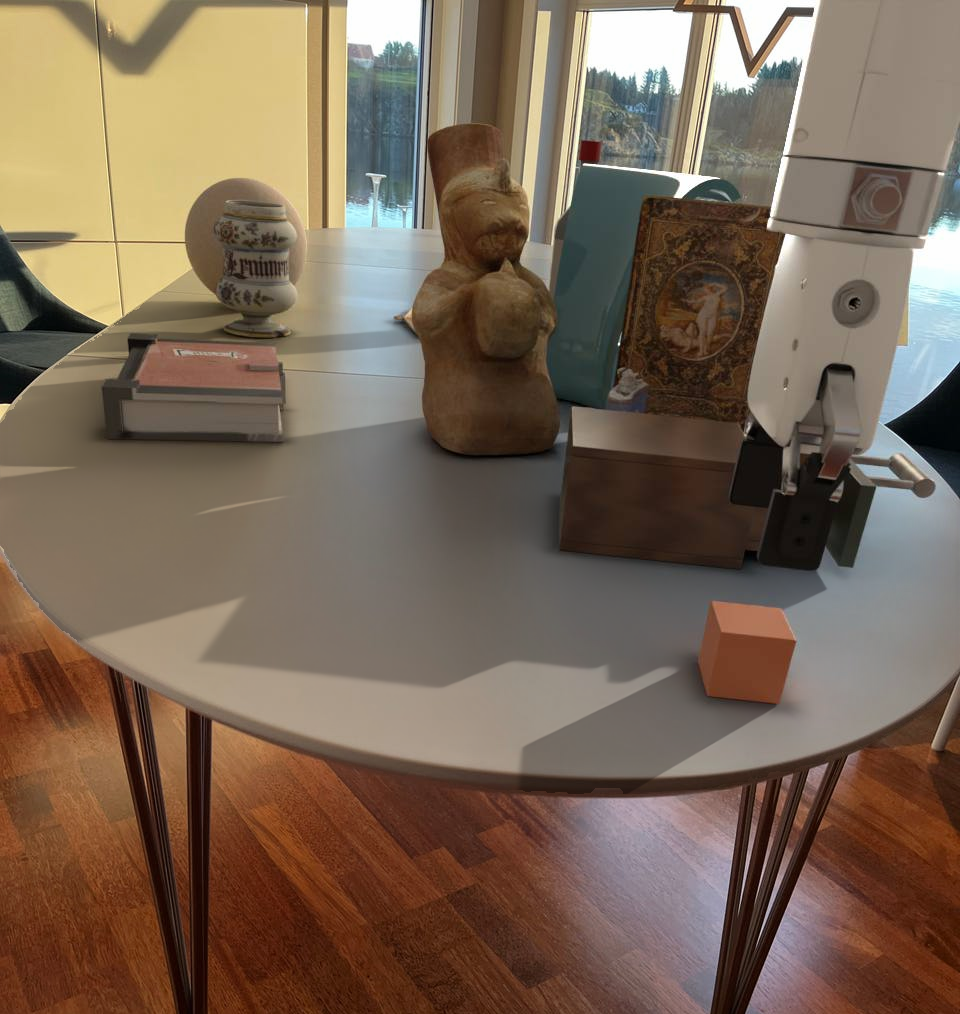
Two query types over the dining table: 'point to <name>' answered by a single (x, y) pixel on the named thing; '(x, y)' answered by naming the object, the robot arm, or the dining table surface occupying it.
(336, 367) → the dining table surface
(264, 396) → the book
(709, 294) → the book
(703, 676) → the block
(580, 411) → the cabinet
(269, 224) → the apothecary jar
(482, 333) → the ceramic vessel
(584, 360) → the curved teal holder
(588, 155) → the liquor
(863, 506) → the drawer
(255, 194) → the decorative sphere
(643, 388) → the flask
